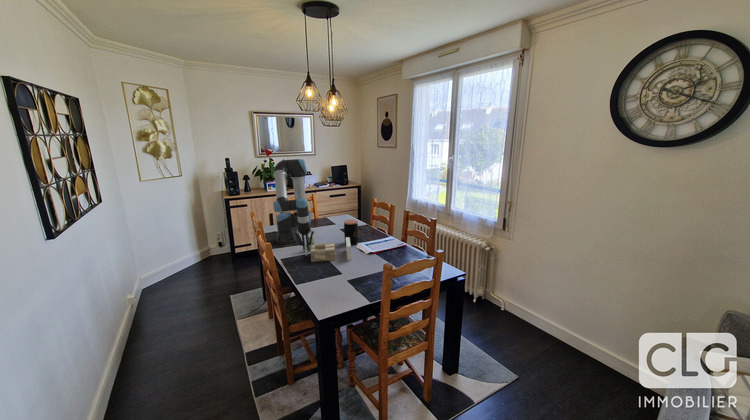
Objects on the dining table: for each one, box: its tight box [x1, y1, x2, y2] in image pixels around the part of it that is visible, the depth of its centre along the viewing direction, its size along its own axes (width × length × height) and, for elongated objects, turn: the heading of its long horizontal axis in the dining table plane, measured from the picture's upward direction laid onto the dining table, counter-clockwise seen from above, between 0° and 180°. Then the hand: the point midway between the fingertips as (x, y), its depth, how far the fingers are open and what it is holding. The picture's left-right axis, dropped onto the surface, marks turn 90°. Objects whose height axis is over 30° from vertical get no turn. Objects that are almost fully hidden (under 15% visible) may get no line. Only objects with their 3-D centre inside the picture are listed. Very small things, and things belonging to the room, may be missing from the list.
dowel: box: [308, 236, 315, 252], centre depth 215 cm, size 4×4×10 cm
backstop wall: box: [345, 237, 352, 261], centre depth 204 cm, size 18×3×10 cm, turn 8°
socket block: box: [309, 242, 336, 263], centre depth 203 cm, size 14×16×7 cm
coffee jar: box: [343, 219, 360, 246], centre depth 225 cm, size 11×11×18 cm
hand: (306, 254), depth 201 cm, fingers closed
